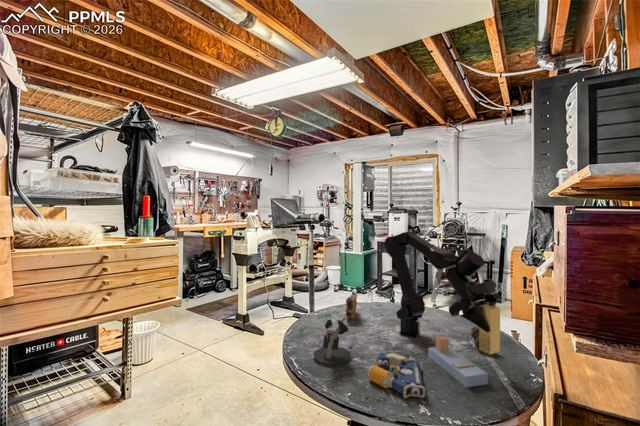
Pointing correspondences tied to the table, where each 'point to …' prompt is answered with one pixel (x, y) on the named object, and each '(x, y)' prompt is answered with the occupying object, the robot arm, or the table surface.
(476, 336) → the bolt
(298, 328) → the table surface
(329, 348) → the gun turret
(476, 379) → the plane body
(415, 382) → the toy gun
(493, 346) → the tan tall block
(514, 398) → the table surface
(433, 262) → the robot arm
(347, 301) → the wooden carving
